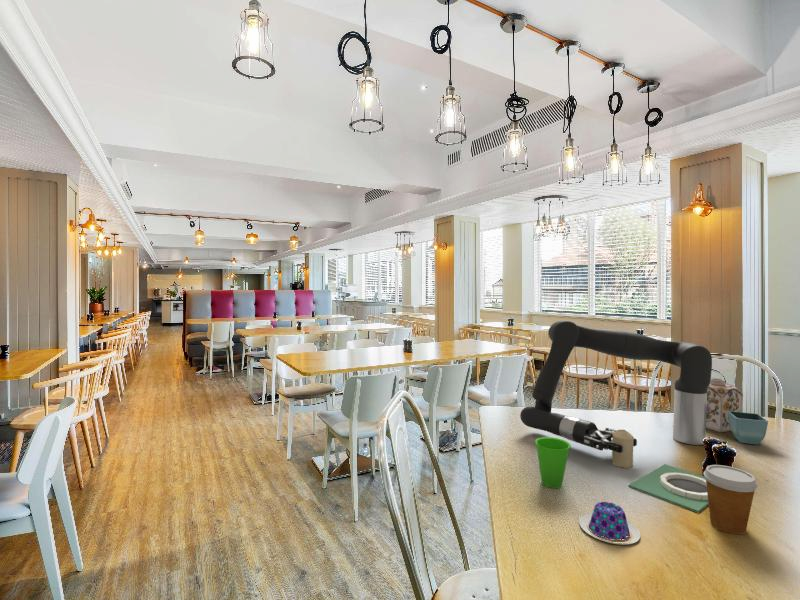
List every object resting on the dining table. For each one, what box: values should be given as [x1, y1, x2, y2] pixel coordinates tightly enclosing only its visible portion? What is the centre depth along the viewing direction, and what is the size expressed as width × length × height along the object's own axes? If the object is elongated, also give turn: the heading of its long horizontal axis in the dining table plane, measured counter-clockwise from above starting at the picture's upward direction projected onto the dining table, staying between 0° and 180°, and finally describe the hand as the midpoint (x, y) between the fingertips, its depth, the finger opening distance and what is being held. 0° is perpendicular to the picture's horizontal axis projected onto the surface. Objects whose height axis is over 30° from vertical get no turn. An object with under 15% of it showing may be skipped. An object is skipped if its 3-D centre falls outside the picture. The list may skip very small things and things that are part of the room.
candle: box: [611, 429, 635, 469], centre depth 128 cm, size 6×6×10 cm
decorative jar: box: [706, 377, 744, 433], centre depth 162 cm, size 12×12×18 cm
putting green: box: [628, 463, 709, 514], centre depth 114 cm, size 22×16×2 cm
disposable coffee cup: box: [703, 464, 759, 535], centre depth 95 cm, size 10×10×12 cm
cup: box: [534, 436, 572, 489], centre depth 115 cm, size 9×9×11 cm
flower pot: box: [728, 411, 769, 446], centre depth 147 cm, size 9×9×9 cm
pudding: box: [578, 501, 641, 545], centre depth 94 cm, size 12×12×5 cm
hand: (629, 446), depth 126 cm, fingers open, 8 cm apart
